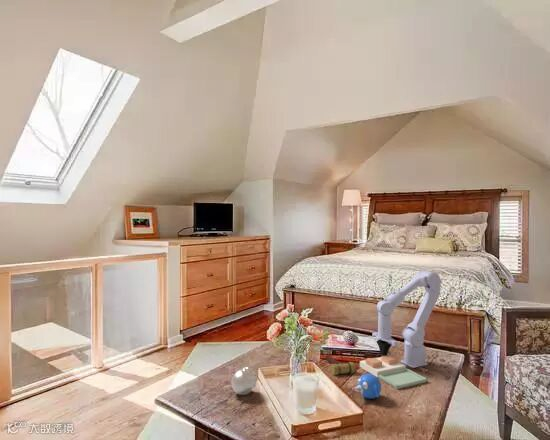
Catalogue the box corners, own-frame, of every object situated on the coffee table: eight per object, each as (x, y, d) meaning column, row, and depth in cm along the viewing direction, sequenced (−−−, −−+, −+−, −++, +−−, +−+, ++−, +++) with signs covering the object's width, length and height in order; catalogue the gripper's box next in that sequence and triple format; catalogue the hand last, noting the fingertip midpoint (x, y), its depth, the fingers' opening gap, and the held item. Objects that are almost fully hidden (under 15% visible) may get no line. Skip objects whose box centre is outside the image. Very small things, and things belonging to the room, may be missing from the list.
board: (386, 361, 169) (387, 355, 169) (405, 371, 158) (406, 365, 158) (359, 366, 162) (359, 361, 162) (377, 377, 151) (377, 371, 151)
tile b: (374, 362, 161) (374, 357, 161) (382, 366, 157) (382, 361, 157) (365, 363, 159) (365, 359, 159) (373, 368, 155) (373, 363, 155)
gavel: (315, 351, 172) (334, 350, 175) (315, 361, 172) (334, 359, 174) (334, 366, 152) (355, 364, 155) (334, 377, 152) (355, 374, 154)
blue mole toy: (343, 393, 137) (343, 371, 137) (368, 388, 142) (368, 366, 142) (362, 409, 126) (362, 385, 126) (389, 402, 131) (389, 379, 131)
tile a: (389, 359, 165) (389, 354, 165) (397, 363, 160) (397, 358, 160) (381, 360, 163) (381, 356, 163) (389, 364, 158) (389, 360, 158)
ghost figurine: (250, 401, 130) (250, 374, 130) (227, 396, 133) (227, 370, 133) (259, 390, 138) (259, 364, 138) (237, 386, 142) (238, 361, 142)
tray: (406, 371, 158) (406, 367, 158) (427, 382, 147) (427, 378, 147) (377, 377, 151) (378, 374, 151) (397, 389, 141) (397, 385, 141)
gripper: (367, 324, 170) (367, 352, 170) (388, 333, 157) (388, 363, 157) (379, 322, 173) (378, 350, 173) (400, 331, 160) (400, 361, 160)
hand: (384, 356), depth 165 cm, fingers closed
